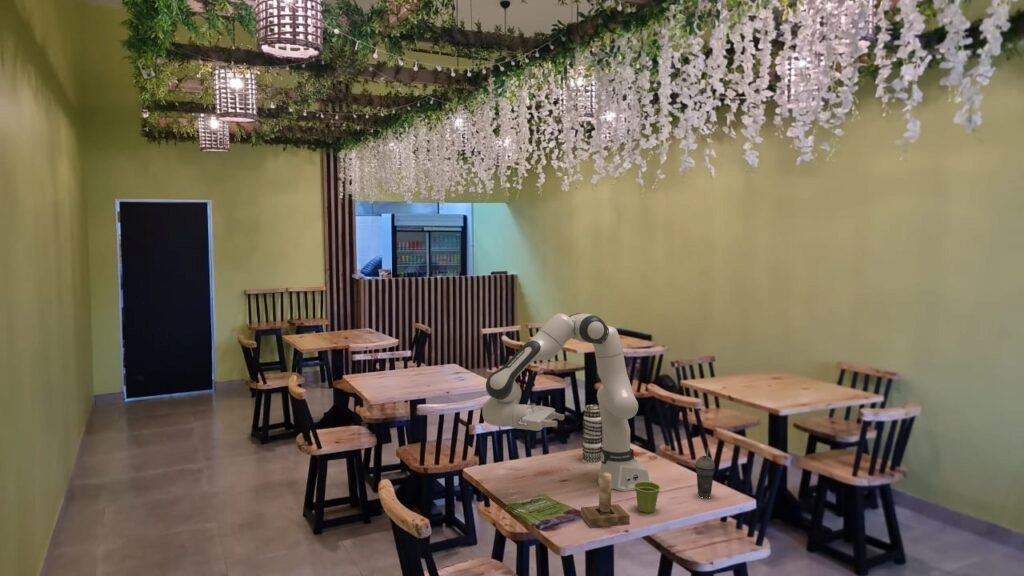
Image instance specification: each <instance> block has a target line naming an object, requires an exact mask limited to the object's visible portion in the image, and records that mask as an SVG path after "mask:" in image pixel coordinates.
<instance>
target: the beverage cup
mask: <svg viewBox="0 0 1024 576" xmlns="http://www.w3.org/2000/svg"><path fill="white" fill-rule="evenodd" d="M709 450H710V445H707V449H706V455H701V456H699V457H698V458H697V459H696V462H695V466H694V467H695V472H696V482H697V483H696V485H697V496H698V495H699V496H700V497H703V498H709V497H710V496H711V497H712V491H713V490H712V487H713V479H714V473H715V469H716V467H715V461H714V460H713V459H712V458H711V457H710V456H709ZM699 496H698V497H699ZM700 497H699V498H700ZM711 497H710V498H711ZM703 498H702V499H703ZM710 498H709V499H710Z"/></svg>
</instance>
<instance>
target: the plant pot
mask: <svg viewBox="0 0 1024 576" xmlns="http://www.w3.org/2000/svg"><path fill="white" fill-rule="evenodd" d="M634 488H635V490H634V491H635V494H636V502H637V509H638V511H640V512H644V513H646V514H650V513H654V512H655V511H656V508H657V502H658V501H657V500H658V496H659V493H660V490H661V486H660V485H659V484H657V483H656V482H654V483H652V482H638V483H635V484H634Z"/></svg>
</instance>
